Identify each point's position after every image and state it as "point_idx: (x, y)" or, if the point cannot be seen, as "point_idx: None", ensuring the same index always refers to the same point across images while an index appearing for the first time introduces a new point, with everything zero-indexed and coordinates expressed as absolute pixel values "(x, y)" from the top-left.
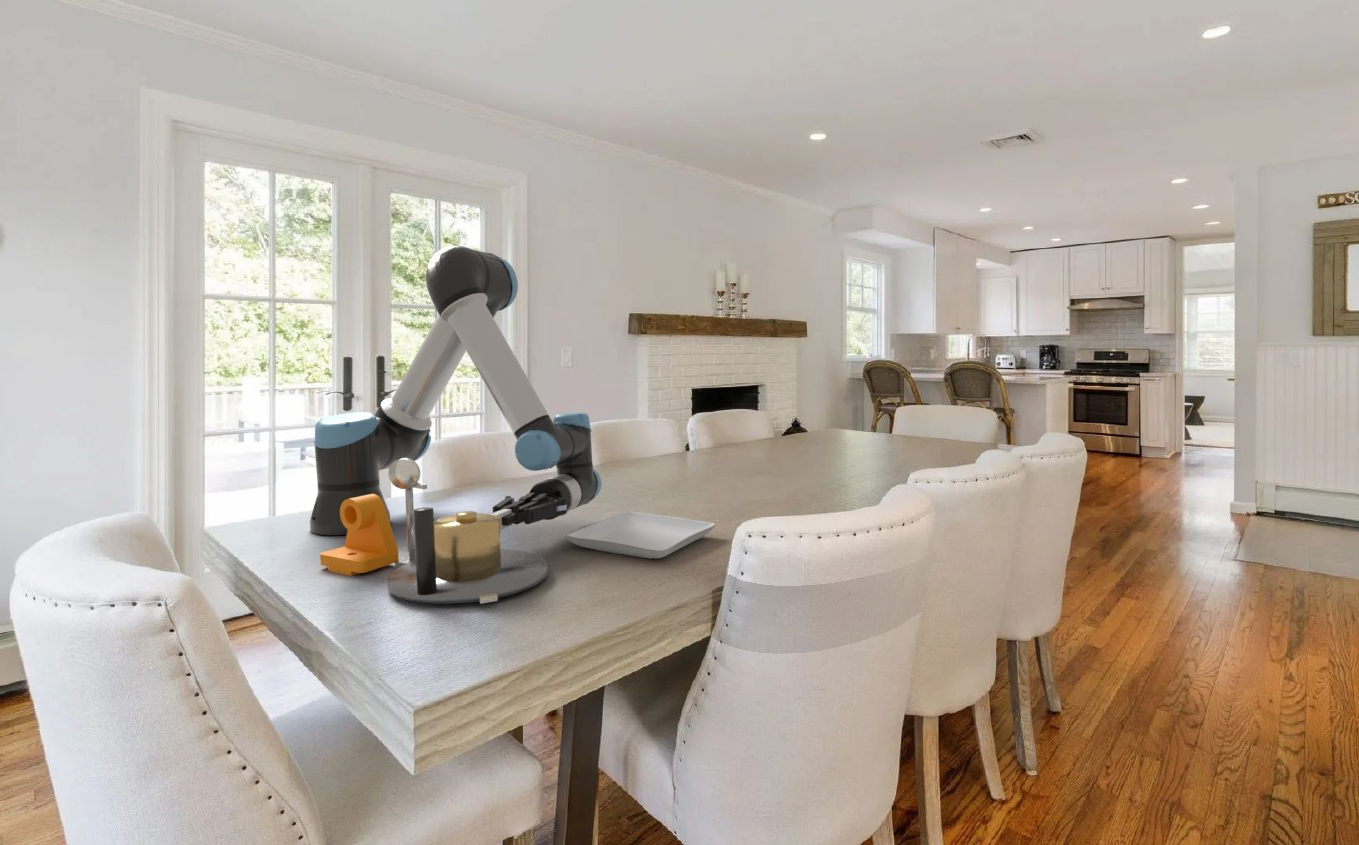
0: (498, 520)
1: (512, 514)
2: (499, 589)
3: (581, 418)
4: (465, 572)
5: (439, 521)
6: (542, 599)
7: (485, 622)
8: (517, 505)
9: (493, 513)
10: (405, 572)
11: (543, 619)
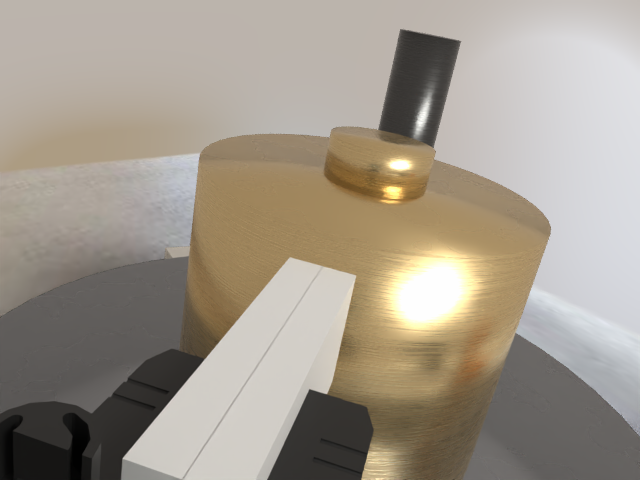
0: (202, 153)
1: (108, 436)
2: (162, 264)
3: None
4: None
5: (504, 199)
6: (20, 291)
7: (184, 237)
8: (19, 423)
9: (308, 336)
10: (579, 423)
11: (47, 224)
